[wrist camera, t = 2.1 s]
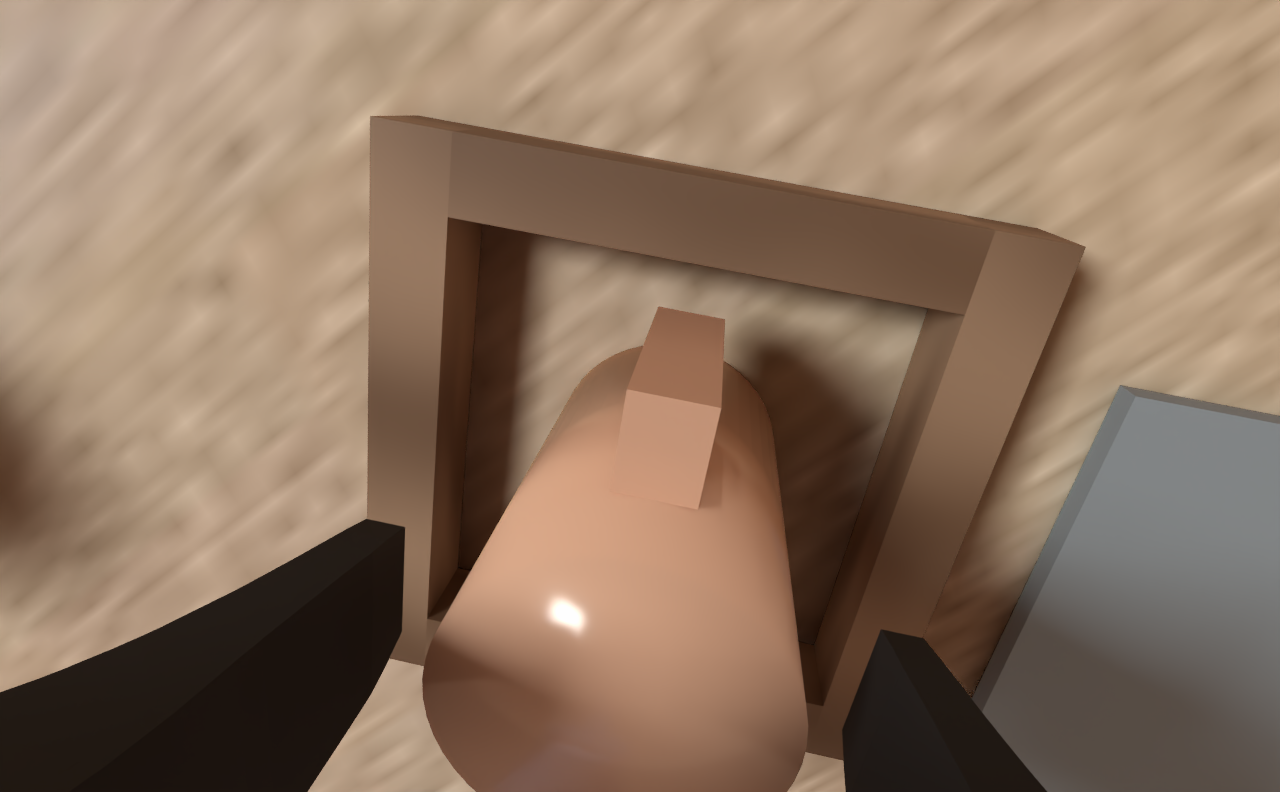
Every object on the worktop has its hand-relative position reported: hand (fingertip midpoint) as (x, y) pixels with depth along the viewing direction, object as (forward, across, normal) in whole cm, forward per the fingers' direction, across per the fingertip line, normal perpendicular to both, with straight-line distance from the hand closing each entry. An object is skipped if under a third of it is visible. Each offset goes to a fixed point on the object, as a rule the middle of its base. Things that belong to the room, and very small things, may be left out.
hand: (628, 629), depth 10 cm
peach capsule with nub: (+6, 0, 0) cm, 6 cm away
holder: (+6, 0, 0) cm, 6 cm away
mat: (+6, -14, +2) cm, 16 cm away
